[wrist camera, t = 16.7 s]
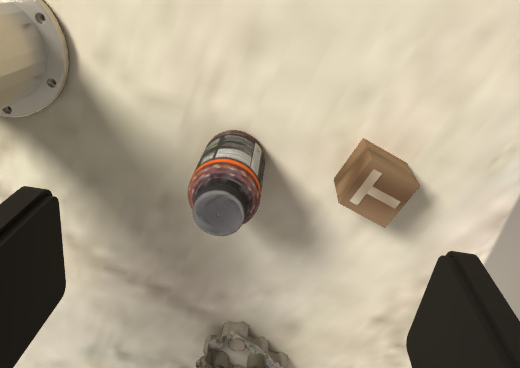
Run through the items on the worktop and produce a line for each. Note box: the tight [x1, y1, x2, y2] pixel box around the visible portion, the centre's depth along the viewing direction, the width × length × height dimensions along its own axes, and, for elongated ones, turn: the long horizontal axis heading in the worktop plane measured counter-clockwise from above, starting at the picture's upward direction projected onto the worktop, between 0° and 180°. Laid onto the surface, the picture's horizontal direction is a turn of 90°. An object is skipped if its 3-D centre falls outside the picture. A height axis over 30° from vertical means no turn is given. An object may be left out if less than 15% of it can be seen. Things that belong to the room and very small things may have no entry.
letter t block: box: [334, 138, 420, 228], centre depth 40 cm, size 5×5×5 cm
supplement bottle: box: [188, 130, 265, 236], centre depth 37 cm, size 6×6×11 cm
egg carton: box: [196, 321, 288, 368], centre depth 53 cm, size 11×8×4 cm
